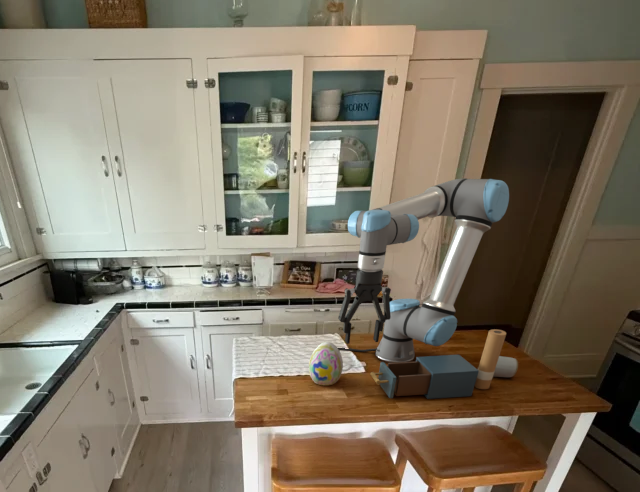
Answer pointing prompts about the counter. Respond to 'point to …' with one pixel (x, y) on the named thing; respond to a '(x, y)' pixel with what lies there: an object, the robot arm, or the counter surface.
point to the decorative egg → (326, 364)
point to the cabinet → (449, 376)
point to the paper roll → (489, 358)
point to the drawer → (403, 378)
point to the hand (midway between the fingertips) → (361, 341)
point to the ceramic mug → (506, 367)
